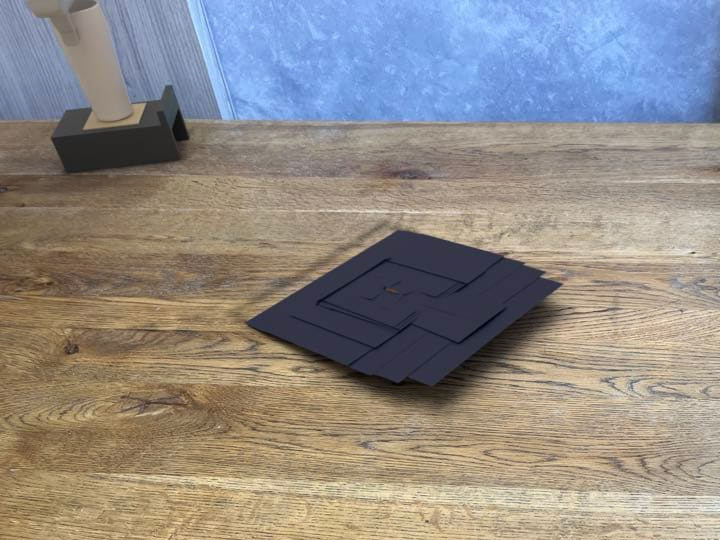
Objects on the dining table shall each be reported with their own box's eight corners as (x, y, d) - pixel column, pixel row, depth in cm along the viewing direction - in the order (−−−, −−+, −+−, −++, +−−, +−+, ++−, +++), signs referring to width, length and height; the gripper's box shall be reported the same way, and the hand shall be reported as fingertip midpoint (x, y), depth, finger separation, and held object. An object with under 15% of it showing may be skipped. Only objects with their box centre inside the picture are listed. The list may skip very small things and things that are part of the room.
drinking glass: (83, 116, 120) (37, 6, 109) (128, 102, 123) (88, -5, 113) (101, 129, 116) (55, 17, 106) (147, 114, 119) (107, 5, 109)
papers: (424, 420, 76) (415, 389, 74) (238, 338, 93) (227, 311, 90) (577, 297, 90) (573, 268, 88) (392, 244, 106) (385, 219, 104)
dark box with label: (68, 178, 119) (43, 123, 113) (83, 149, 126) (60, 96, 121) (182, 164, 121) (163, 110, 115) (189, 136, 128) (172, 84, 123)
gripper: (31, -98, 109) (73, 12, 119) (-14, -63, 94) (38, 60, 104) (81, -101, 110) (118, 8, 119) (44, -67, 95) (90, 55, 104)
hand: (81, 33), depth 111 cm, fingers open, 8 cm apart
